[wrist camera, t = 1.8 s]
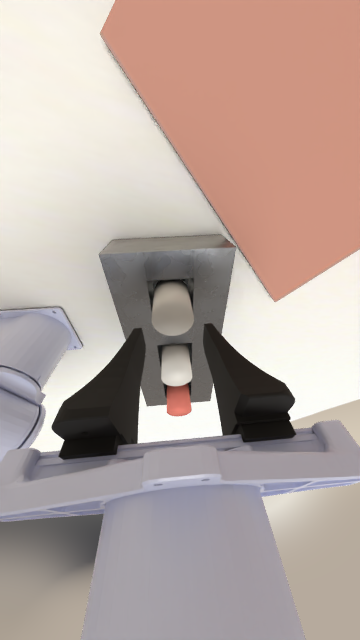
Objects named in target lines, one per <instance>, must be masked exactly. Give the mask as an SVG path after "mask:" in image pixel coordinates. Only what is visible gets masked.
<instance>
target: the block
mask: <svg viewBox="0 0 360 640" xmlns="http://www.w3.org/2000/svg"><path fill="white" fill-rule="evenodd" d="M235 251H236V247H235V246H234V245H233V244H232V243H230V242H229V241H228V240H227V239H226V238H225V237H224V236H222V235H202V236H181V237H160V238H139V239H118V240H112V241H111V242H110V243H109V244H108V245H107V246H106V247H105V248H104V249H103V250H102V251H101V252H100V253H99V257H100V260H101V263H102V267H103V270H104V273H105V276H106V279H107V282H108V285H109V288H110V292H111V295H112V298H113V301H114V304H115V307H116V310H117V314H118V317H119V320H120V323H121V326H122V329H123V332H124V335H125V339H126V340H127V338H128V337H129V335H130V334H131V332H132V330H133V329H134V328H142V331H143V335H144V340H145V344H146V353H145V362H144V368H143V374H142V379H141V389H142V392H143V395H144V398H145V401H146V404H147V406H156V405H167V385H166V384H165V383H163V381H162V379H161V370H162V345H166V344H180V343H187V344H188V349H189V356H190V363H191V370H192V379H191V381H190V382H189V383H188V385H189V394H190V402H203V401H210V399H211V393H212V387H213V379H212V375H211V372H210V369H209V365H208V362H207V359H206V356H205V352H204V346H203V333H204V324H207V323H212V324H213V325H214V326H215V328H216V329H217V330H218V331H219V333H220V334H222V328H223V322H224V316H225V310H226V304H227V298H228V292H229V286H230V280H231V274H232V268H233V263H234V257H235ZM171 279H188V292H189V297H190V301H191V306H192V310H193V315H194V322H193V325H192V327H191V328H190V329H189V330H188V331H187V332H185V333H183V334H181V335H177V336H168V335H164V334H161V333H159V332H158V331H157V330H156V329H155V328H154V327H153V325H152V309H153V299H154V287H153V281H154V280H171Z"/></svg>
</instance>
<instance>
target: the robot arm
mask: <svg viewBox="0 0 360 640" xmlns="http://www.w3.org/2000/svg"><path fill="white" fill-rule="evenodd" d="M54 311H55V312H54ZM203 346H204V352H205V356H206V359H207V362H208V365H209V369H210V372H211V375H212V379H213V383H214V388H215V393H216V398H217V403H218V409H219V415H220V421H221V427H222V433H223V436H215V437H204V438H193V439H182V440H172V441H161V442H150V443H139V444H137V440H138V413H139V397H140V386H141V379H142V374H143V368H144V362H145V353H146V344H145V340H144V335H143V331H142V328H134V329H133V330H132V332H131V334H130V335H129V337H128V338H127V340H126V341H125V343H124V344H123V346H122V347H121V349H120V350H119V351H118V353H117V354H116V355H115V356H114V358H113V359H112V360H111V361H110V362H109V364H108V365H107V366H106V367H105V368H104V369H103V370H102V371H101V372H100V373H99V374H98V375H97V376H96V377H95V378H94V379H92V380H91V381H90V382H89V383H88V384H87V385H85V386H84V387H83V388H82V389H80V390H79V391H78V392H76V393H75V394H74V395H72V396H71V397H70V398H68V399H67V400H65V401H64V402H63V404H62V406H61V408H60V409H59V411H58V414H57V416H56V418H55V420H54V422H53V424H52V430H53V431H54V432H55V433H56V434H57V435H59V436H60V437H61V438H62V439H64V440H65V441H64V443H63V446H62V448H61V451H53V452H42V453H41V452H40V451H39V450H37V449H34V448H29V447H30V446H31V444H32V443H33V442H34V440H35V439H36V437H37V436H38V434H39V432H40V430H41V428H42V426H43V423H44V419H45V413H46V410H45V407H44V406H43V405H42V404H41V403H42V401H43V399H44V398H45V396H46V395H45V394H43V393H42V392H41V391H42V389H43V387H44V386H45V384H46V382H47V381H48V379H49V377H50V376H51V374H52V372H53V371H54V369H55V367H56V366H57V364H58V362H59V361H60V359H61V357H62V356H63V354H64V352H65V351H66V350H74V349H81V348H82V347H83V346H82V344H81V342H80V340H79V338H78V337H77V335H76V333H75V331H74V329H73V328H72V326H71V324H70V322H69V321H68V319H67V317H66V315H65V313H64V312H63V310H62V309H61V308H59V307H55V308H39V309H23V310H6V311H0V521H3V522H8V521H18V520H28V519H40V518H52V517H65V516H79V515H93V514H104V517H103V522H102V527H101V533H100V539H99V544H98V550H97V554H96V560H95V565H94V571H93V576H92V582H91V587H90V592H89V598H88V604H87V608H86V615H85V619H84V625H83V630H82V636H81V640H306V639H305V635H304V632H303V629H302V626H301V623H300V619H299V616H298V613H297V610H296V606H295V603H294V600H293V597H292V594H291V590H290V587H289V584H288V581H287V577H286V574H285V571H284V568H283V565H282V561H281V558H280V555H279V552H278V548H277V545H276V542H275V539H274V536H273V532H272V529H271V526H270V523H269V520H268V516H267V513H266V510H265V507H264V503H263V500H262V497H263V496H270V495H278V494H285V493H292V492H299V491H306V490H313V489H320V488H329V487H337V486H346V485H352V484H355V483H358V482H360V447H359V446H358V444H357V443H356V442H355V440H354V439H353V438H352V436H351V435H350V434H349V432H348V431H347V430H346V428H345V427H344V425H343V424H342V423H341V422H340V421H339V420H331V421H321V422H318V423H316V424H314V425H313V426H312V428H301V429H293V427H292V425H291V423H290V421H289V420H290V416H289V414H288V411H289V410H290V408H291V407H292V406H293V404H294V403H295V398H294V397H293V395H292V393H291V392H290V390H289V389H288V387H287V386H286V385H285V383H283V382H281V381H280V380H278V379H276V378H274V377H272V376H270V375H269V374H267V373H265V372H264V371H262V370H261V369H259V368H258V367H256V366H255V365H253V364H252V363H251V362H249V361H248V360H247V359H245V358H244V357H243V356H242V355H241V354H239V353H238V352H237V351H236V350H235V349H234V348H233V347H232V346H231V345H230V344H229V343H228V342H227V341H226V340H225V338H224V337H223V336H222V335H221V334H220V333H219V331H218V330H217V329H216V328H215V326H214V325H213V324H212V323H207V324H204V333H203Z"/></svg>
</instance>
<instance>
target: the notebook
mask: <svg viewBox="0 0 360 640" xmlns="http://www.w3.org/2000/svg"><path fill="white" fill-rule="evenodd" d="M100 35H101V37H102V39H103V40H104V42H105V43H106V45H107V46H108V48H109V49H110V51H111V52H112V54H113V55H114V57H115V58H116V60H117V62H118V63H119V65H120V66H121V68H122V69H123V71H124V72H125V74H126V75H127V77H128V78H129V80H130V81H131V83H132V84H133V86H134V88H135V89H136V91H137V92H138V94H139V95H140V97H141V98H142V100H143V101H144V103H145V104H146V106H147V107H148V109H149V111H150V112H151V114H152V115H153V117H154V118H155V120H156V121H157V123H158V124H159V126H160V127H161V129H162V130H163V132H164V133H165V135H166V137H167V138H168V140H169V141H170V143H171V144H172V146H173V147H174V149H175V150H176V152H177V153H178V155H179V156H180V158H181V160H182V161H183V163H184V164H185V166H186V167H187V169H188V170H189V172H190V173H191V175H192V176H193V178H194V179H195V181H196V182H197V184H198V186H199V187H200V189H201V190H202V192H203V193H204V195H205V196H206V198H207V199H208V201H209V202H210V204H211V205H212V207H213V209H214V210H215V212H216V213H217V215H218V216H219V218H220V219H221V221H222V222H223V224H224V225H225V227H226V228H227V230H228V231H229V233H230V235H231V236H232V238H233V239H234V241H235V242H236V244H237V245H238V247H239V248H240V250H241V251H242V253H243V254H244V256H245V258H246V259H247V261H248V262H249V264H250V265H251V267H252V268H253V270H254V271H255V273H256V274H257V276H258V277H259V279H260V280H261V282H262V284H263V285H264V287H265V288H266V290H267V291H268V293H269V294H270V296H271V297H272V299H273V300H274V302H277V301H278V300H280V299H281V298H283V297H285V296H286V295H288V294H289V293H291V292H293V291H294V290H296V289H297V288H299V287H300V286H302V285H304V284H305V283H307V282H308V281H310V280H312V279H313V278H315V277H316V276H318V275H320V274H321V273H323V272H324V271H326V270H327V269H329V268H331V267H332V266H334V265H335V264H337V263H339V262H340V261H342V260H343V259H345V258H346V257H348V256H350V255H351V254H353V253H354V252H356V251H358V250H359V249H360V0H115V3H114V5H113V7H112V9H111V11H110V13H109V15H108V17H107V20H106V22H105V24H104V26H103V28H102V30H101V32H100Z"/></svg>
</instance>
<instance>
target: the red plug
mask: <svg viewBox="0 0 360 640" xmlns="http://www.w3.org/2000/svg"><path fill="white" fill-rule="evenodd" d="M190 412H191V402H190V394H189V385H188V383H187V384H185V385H182V386H169V385H167V413H168V414H169V415H172V416H183V415H187V414H188V413H190Z"/></svg>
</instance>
